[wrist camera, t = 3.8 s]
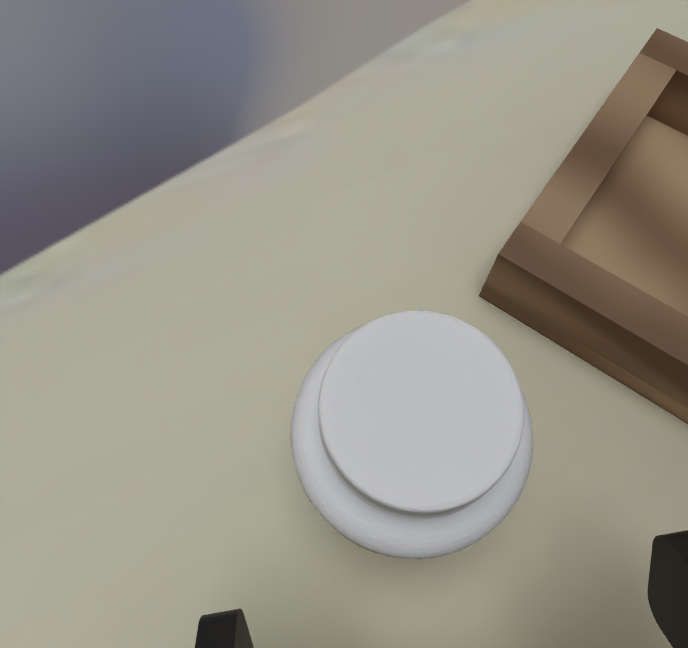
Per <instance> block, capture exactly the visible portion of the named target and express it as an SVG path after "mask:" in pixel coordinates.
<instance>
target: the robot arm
mask: <svg viewBox="0 0 688 648" xmlns="http://www.w3.org/2000/svg"><path fill="white" fill-rule="evenodd" d="M648 600H649V604H650V608H651V611H652V613H653V616H654V618H655V620H656V622H657V624H658V625H659V627H660V629H661V630H662V632H663V633H664V635H665V636H666V638H667V639H668V641H669V642H670V644H671V645H672V647H673V648H688V530H687V531H682V532H676V533H670V534H665V535H659V536H656V537H655V538H654V540H653V545H652V555H651V564H650V573H649V583H648ZM195 648H254V647H253V644H252V641H251V637H250V634H249V630H248V627H247V623H246V620H245V617H244V614H243V611H242V610H241V609H236V610H230V611H224V612H219V613H213V614H208V615H203V616H201V618H200V621H199V625H198V631H197V638H196V644H195Z"/></svg>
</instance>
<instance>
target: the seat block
mask: <svg viewBox="0 0 688 648" xmlns="http://www.w3.org/2000/svg"><path fill="white" fill-rule="evenodd" d="M479 296H480V297H482V298H484V299H485V300H487V301H489V302H490V303H492V304H494V305H495V306H497V307H498V308H500V309H502V310H503V311H505V312H507V313H508V314H510V315H511V316H513V317H515V318H516V319H518V320H520V321H521V322H523V323H525V324H526V325H528V326H529V327H531V328H533V329H534V330H536V331H538V332H539V333H541V334H543V335H544V336H546V337H547V338H549V339H551V340H552V341H554V342H556V343H557V344H559V345H561V346H562V347H564V348H565V349H567V350H569V351H570V352H572V353H574V354H575V355H577V356H578V357H580V358H582V359H583V360H585V361H587V362H588V363H590V364H592V365H593V366H595V367H596V368H598V369H600V370H601V371H603V372H605V373H606V374H608V375H610V376H611V377H613V378H614V379H616V380H618V381H619V382H621V383H623V384H624V385H626V386H628V387H629V388H631V389H632V390H634V391H636V392H637V393H639V394H641V395H642V396H644V397H645V398H647V399H649V400H650V401H652V402H654V403H655V404H657V405H659V406H660V407H662V408H663V409H665V410H667V411H668V412H670V413H672V414H673V415H675V416H677V417H678V418H680V419H681V420H683V421H685V422H686V423H688V42H686V41H684V40H682V39H680V38H678V37H675V36H673V35H671V34H669V33H667V32H664V31H662V30H660V29H658V28H657V29H656V30H655V32H654V33H653V34H652V36H651V37H650V39H649V40H648V42H647V43H646V44H645V46H644V47H643V49H642V50H641V52H640V53H639V54H638V56H637V57H636V59H635V60H634V62H633V63H632V64H631V66H630V67H629V69H628V70H627V71H626V73H625V74H624V76H623V77H622V79H621V80H620V81H619V83H618V84H617V86H616V87H615V89H614V90H613V91H612V93H611V94H610V96H609V97H608V99H607V100H606V101H605V103H604V104H603V106H602V107H601V108H600V110H599V111H598V113H597V114H596V116H595V117H594V118H593V120H592V121H591V123H590V124H589V126H588V127H587V128H586V130H585V131H584V133H583V134H582V136H581V137H580V138H579V140H578V141H577V143H576V144H575V145H574V147H573V148H572V150H571V151H570V153H569V154H568V155H567V157H566V158H565V160H564V161H563V163H562V164H561V165H560V167H559V168H558V170H557V171H556V173H555V174H554V175H553V177H552V178H551V180H550V181H549V182H548V184H547V185H546V187H545V188H544V190H543V191H542V192H541V194H540V195H539V197H538V198H537V200H536V201H535V202H534V204H533V205H532V207H531V208H530V210H529V211H528V212H527V214H526V215H525V217H524V218H523V219H522V221H521V222H520V224H519V225H518V227H517V228H516V229H515V231H514V232H513V234H512V235H511V237H510V238H509V239H508V241H507V242H506V244H505V245H504V247H503V248H502V249H501V251H500V252H499V254H498V256H497V258H496V260H495V262H494V264H493V266H492V269H491V271H490V273H489V275H488V277H487V279H486V282H485V284H484V286H483V288H482V290H481V292H480V295H479Z"/></svg>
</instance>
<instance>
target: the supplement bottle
mask: <svg viewBox="0 0 688 648" xmlns="http://www.w3.org/2000/svg"><path fill="white" fill-rule="evenodd" d="M291 447H292V454H293V459H294V463H295V467H296V471H297V474H298V477H299V479H300V482H301V484H302V486H303V489H304V491H305V493H306V495H307V497H308V498H309V500H310V502H311V503H312V504H313V505H314V507H315V508H316V509H317V510H318V512H319V513H320V514H321V515H322V517H323V518H324V519H325V520H326V521H327V522H328V523H329V524H330V525H331V526H332V527H334V528H335V529H336V530H337V531H338V532H339V533H341V534H342V535H343V536H344V537H346V538H347V539H349V540H350V541H352V542H353V543H355V544H357V545H358V546H360V547H363V548H365V549H367V550H370V551H372V552H375V553H379V554H383V555H387V556H391V557H399V558H415V559H421V558H433V557H438V556H442V555H446V554H450V553H453V552H455V551H458V550H461V549H463V548H465V547H468V546H469V545H471V544H473V543H475V542H477V541H478V540H480V539H481V538H483V537H484V536H485V535H487V534H488V533H489V532H491V531H492V530H493V529H494V528H495V527H496V526H497V525H499V524H500V523H501V522H502V520H503V519H504V518H505V517H506V516H507V515H508V513H509V512H510V510H511V509H512V507H513V506H514V505H515V503H516V502H517V500H518V498H519V496H520V494H521V492H522V490H523V488H524V485H525V482H526V480H527V477H528V473H529V470H530V465H531V460H532V452H533V433H532V424H531V417H530V413H529V409H528V405H527V402H526V399H525V397H524V394H523V392H522V390H521V388H520V386H519V383H518V380H517V377H516V375H515V373H514V371H513V369H512V367H511V365H510V363H509V362H508V360H507V358H506V357H505V356H504V354H503V353H502V352H501V350H500V349H499V348H498V347H497V346H496V345H495V344H494V343H493V341H492V340H491V339H490V338H489V337H487V336H486V335H485V334H484V333H482V332H481V331H480V330H478V329H476V328H475V327H473V326H472V325H470V324H469V323H467V322H465V321H463V320H460V319H458V318H456V317H453V316H450V315H446V314H443V313H438V312H433V311H423V310H416V311H402V312H397V313H393V314H389V315H385V316H382V317H380V318H377V319H375V320H373V321H371V322H369V323H367V324H365V325H363V326H360V327H358V328H356V329H354V330H352V331H350V332H349V333H347V334H345V335H344V336H342V337H341V338H339V339H338V340H337V341H335V342H334V343H333V344H332V345H330V346H329V347H328V348H327V349H326V350H325V351H324V352H323V353H322V354H321V355H320V356H319V357H318V359H317V360H316V361H315V363H314V364H313V365H312V367H311V368H310V369H309V371H308V373H307V374H306V376H305V378H304V380H303V382H302V385H301V387H300V389H299V392H298V394H297V397H296V401H295V404H294V409H293V414H292V421H291Z"/></svg>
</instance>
